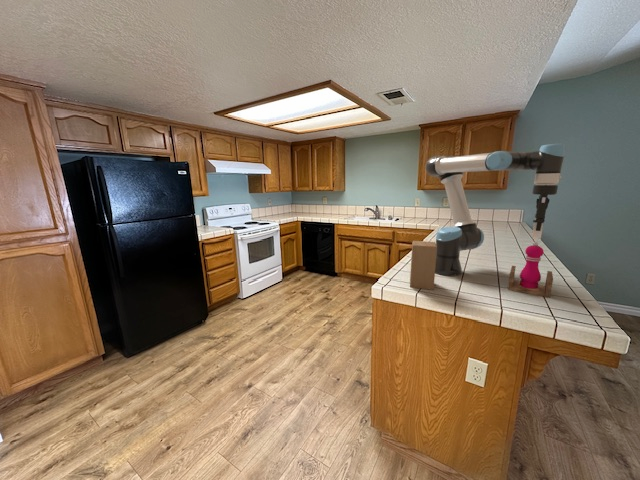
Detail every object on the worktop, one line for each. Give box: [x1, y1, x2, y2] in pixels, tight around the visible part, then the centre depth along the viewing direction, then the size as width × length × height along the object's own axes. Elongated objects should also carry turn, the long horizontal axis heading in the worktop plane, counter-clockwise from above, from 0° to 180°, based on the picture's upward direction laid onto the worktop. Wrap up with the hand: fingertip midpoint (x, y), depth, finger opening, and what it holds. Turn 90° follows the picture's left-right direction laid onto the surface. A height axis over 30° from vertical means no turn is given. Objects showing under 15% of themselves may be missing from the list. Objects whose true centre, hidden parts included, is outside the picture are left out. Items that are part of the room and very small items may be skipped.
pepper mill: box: [519, 241, 545, 289], centre depth 111 cm, size 7×7×20 cm
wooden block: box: [409, 240, 437, 291], centre depth 118 cm, size 10×10×20 cm
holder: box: [507, 265, 554, 298], centre depth 113 cm, size 14×11×8 cm
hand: (536, 235), depth 109 cm, fingers open, 13 cm apart
